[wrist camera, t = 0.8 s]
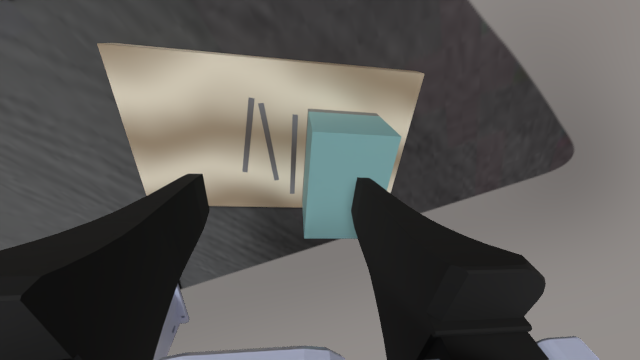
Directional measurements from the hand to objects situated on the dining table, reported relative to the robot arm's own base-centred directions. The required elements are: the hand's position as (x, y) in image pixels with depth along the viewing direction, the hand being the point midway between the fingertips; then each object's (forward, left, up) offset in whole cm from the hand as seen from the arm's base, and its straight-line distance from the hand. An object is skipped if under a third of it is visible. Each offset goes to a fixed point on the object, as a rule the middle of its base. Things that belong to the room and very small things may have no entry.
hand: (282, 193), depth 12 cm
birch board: (-1, +1, -10) cm, 10 cm away
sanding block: (-2, -4, -8) cm, 9 cm away
